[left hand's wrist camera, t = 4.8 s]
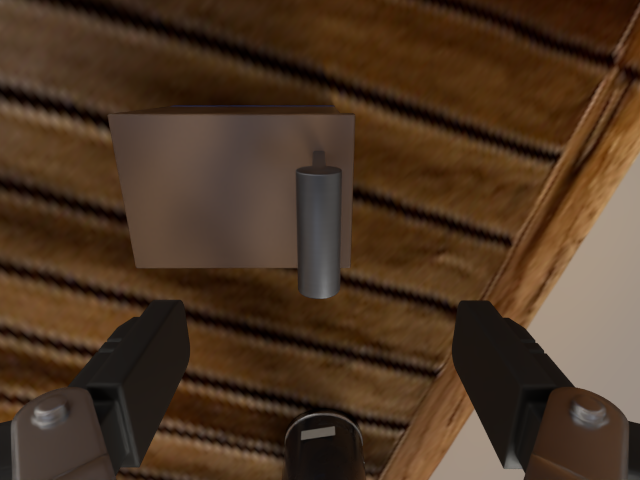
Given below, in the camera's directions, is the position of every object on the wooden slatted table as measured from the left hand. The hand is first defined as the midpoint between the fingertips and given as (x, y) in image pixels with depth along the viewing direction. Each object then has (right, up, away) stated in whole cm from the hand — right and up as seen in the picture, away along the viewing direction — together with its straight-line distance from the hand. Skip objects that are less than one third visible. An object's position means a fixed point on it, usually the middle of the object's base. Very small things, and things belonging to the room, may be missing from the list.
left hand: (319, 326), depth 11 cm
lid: (-5, +6, +15) cm, 16 cm away
